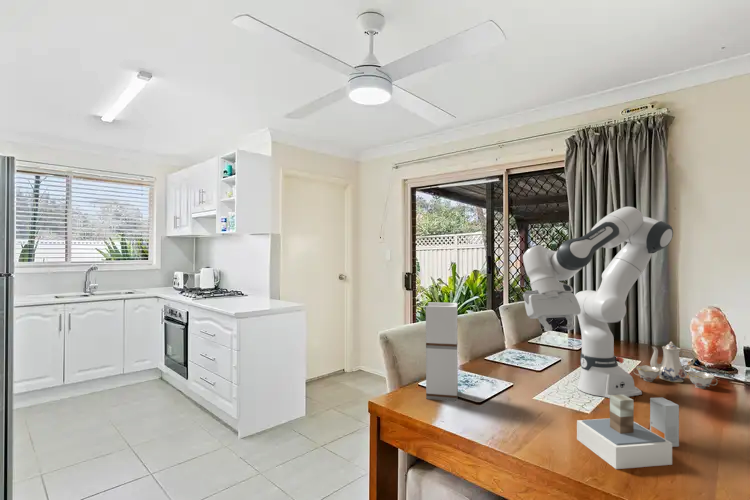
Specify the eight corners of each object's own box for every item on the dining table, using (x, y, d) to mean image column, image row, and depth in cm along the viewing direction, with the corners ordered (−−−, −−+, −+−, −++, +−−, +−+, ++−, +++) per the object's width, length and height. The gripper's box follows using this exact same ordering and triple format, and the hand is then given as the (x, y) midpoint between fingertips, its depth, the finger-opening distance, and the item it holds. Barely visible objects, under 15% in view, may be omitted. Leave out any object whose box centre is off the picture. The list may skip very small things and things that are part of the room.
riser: (626, 435, 120) (626, 415, 120) (672, 464, 104) (672, 441, 104) (576, 439, 118) (576, 419, 118) (616, 469, 102) (615, 445, 102)
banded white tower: (457, 391, 158) (457, 302, 158) (457, 401, 148) (456, 306, 148) (428, 389, 161) (428, 302, 161) (426, 398, 151) (425, 306, 150)
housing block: (622, 426, 114) (622, 394, 114) (633, 432, 110) (633, 399, 110) (609, 426, 113) (609, 395, 113) (620, 433, 109) (620, 400, 109)
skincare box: (649, 437, 119) (649, 397, 119) (662, 436, 120) (662, 396, 119) (665, 447, 113) (665, 405, 113) (679, 447, 114) (679, 405, 113)
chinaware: (636, 386, 167) (637, 348, 165) (629, 371, 182) (630, 335, 180) (721, 396, 156) (723, 355, 154) (706, 378, 171) (708, 341, 169)
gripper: (528, 287, 130) (541, 328, 124) (575, 286, 137) (590, 325, 131) (516, 294, 135) (528, 334, 129) (562, 293, 143) (576, 331, 137)
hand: (560, 329), depth 130 cm, fingers open, 8 cm apart
